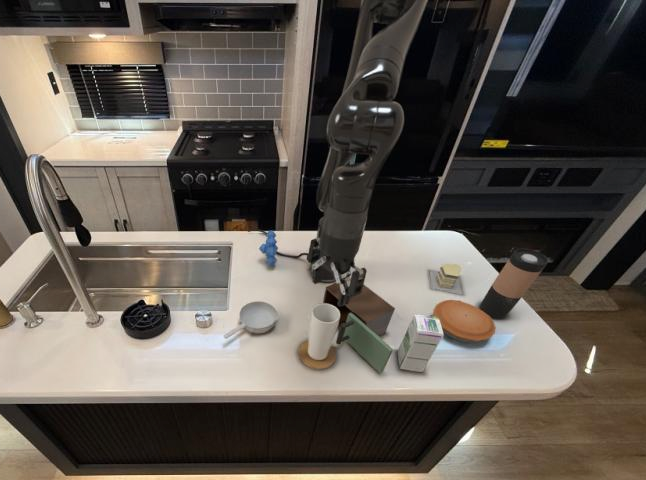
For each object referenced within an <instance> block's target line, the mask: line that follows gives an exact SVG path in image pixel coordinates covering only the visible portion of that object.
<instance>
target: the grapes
mask: <svg viewBox="0 0 646 480" xmlns="http://www.w3.org/2000/svg"><path fill="white" fill-rule="evenodd" d="M265 235H266V237H267V238H266V240H265V242H264V243H262V244H261V245H260V246H259V248H258V249H259V251H260V252H261V253H262V254H265V256H266V260H267V261H266V264H267V265H268V266H269V267H270V268H272V267H274V266H275V265H276V264H277V261H278V259H277V257H276V255H277V254H276V253H277V252H278V249H279V247H278V246H277V242H278V241H277V240H276V236H277V234H276V233H275V232H274V230H271V229H270V230H268V231H267V234H265Z"/></svg>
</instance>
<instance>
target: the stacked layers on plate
mask: <svg viewBox="0 0 646 480" xmlns="http://www.w3.org/2000/svg"><path fill="white" fill-rule="evenodd" d="M462 270H463V269H462V267H461V266H460V265H458V264H456V263H442V264H441V267H440V268H439V271H438V272H437V271H430V270H429V277H430V287H431V289H432V290H436V291H441V292H447V293H450V294H451V293H452V294H458V295H462V288H461V284H460V280H459V277H460V275H461V273H462Z"/></svg>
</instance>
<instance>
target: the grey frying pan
mask: <svg viewBox="0 0 646 480" xmlns="http://www.w3.org/2000/svg"><path fill="white" fill-rule="evenodd" d="M277 319H278V312H277V310H276V307H274V306H273V305H272V304H271V303H268V302H266V301H261V300H260V301H251V302H248V303H246V304H244V305H243V306H242V307H241V308H240V310H239V320H240V323H241V324H239V325H238V326H236V327H234V328H233V329H231V330H230V331H228V332H227V333H225V334H224V335H223V338H224V339H229V338H230V337H232V336H233V335H235V334H236V333H238V332H240V331H241V330H242V329H244V328H245V330H247V331H248V332H250V333H252V334H264V333H265V334H266V332H269V331H270V330H271V329H272V328H273V327H274V326H275V325H276V323H277Z"/></svg>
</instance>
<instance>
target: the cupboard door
mask: <svg viewBox="0 0 646 480" xmlns="http://www.w3.org/2000/svg"><path fill="white" fill-rule="evenodd" d="M345 341H346V343H348V344H349V345H350V346H351V347H352V348H353V349H354V350H355V351H356V352H357V353H358V354H359V355H360V356H361V357H362V358H363V359H364V360H365V361H366V362H367V363H369V365H371V367H373V368H374V369H375V370H376V371H377V372H378V373H379V374H380V375H381V374H382V373H384V370H385V369H386V366H387V364H388V362H389V360H390V358H391V356H392V353H393V352H394V348H393V347H391V346H390V344H388V343H387V342H386V341H384V340H383V339H382V338H381V336H380V337H379V336H378V335H376V334H375V333H374V332H373V331H372V330H371V329H369V328H368V327H367V326H366V325H365V324H364V323H363V322H361V321H360V320H359V319H358V318H357V317H356V316H355V315H353V314H352V313H349V314H348V317H347V320H346V323H342V324H341V326H340V330H339V329H338V333H337V336H336V342H335V343H336V345H338V346H341V345H342V343H344V342H345Z"/></svg>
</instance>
